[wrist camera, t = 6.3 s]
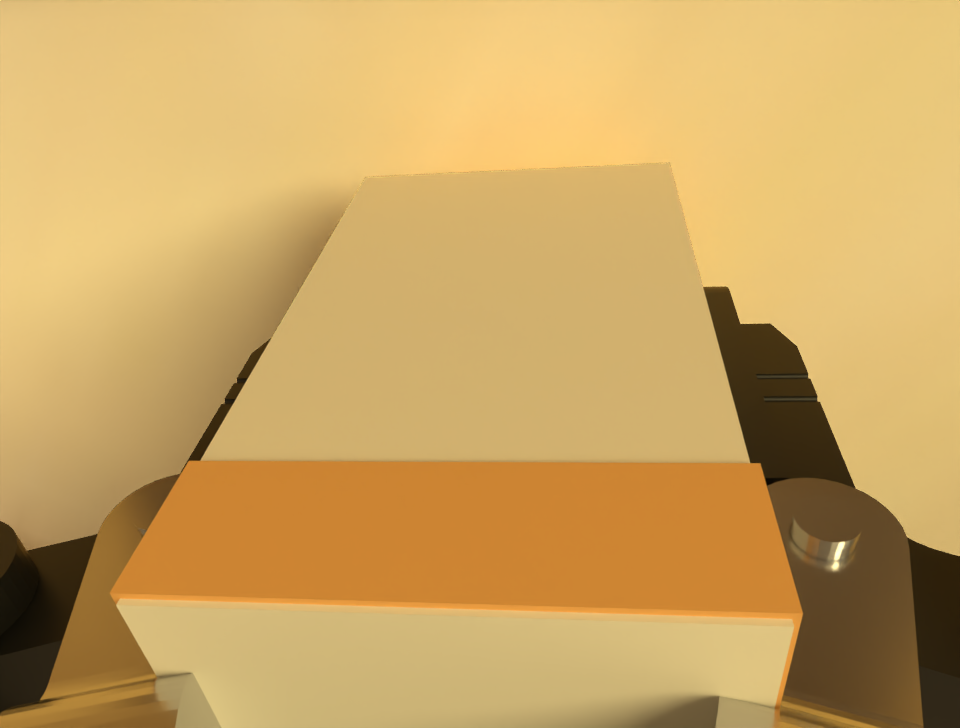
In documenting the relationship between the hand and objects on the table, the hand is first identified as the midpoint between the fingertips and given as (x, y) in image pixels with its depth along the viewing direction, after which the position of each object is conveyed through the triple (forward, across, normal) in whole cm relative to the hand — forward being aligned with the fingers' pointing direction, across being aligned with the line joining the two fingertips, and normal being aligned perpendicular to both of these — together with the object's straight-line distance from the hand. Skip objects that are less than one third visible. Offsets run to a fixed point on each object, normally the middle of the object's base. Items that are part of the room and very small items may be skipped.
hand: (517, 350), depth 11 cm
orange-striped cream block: (+1, 0, 0) cm, 1 cm away
